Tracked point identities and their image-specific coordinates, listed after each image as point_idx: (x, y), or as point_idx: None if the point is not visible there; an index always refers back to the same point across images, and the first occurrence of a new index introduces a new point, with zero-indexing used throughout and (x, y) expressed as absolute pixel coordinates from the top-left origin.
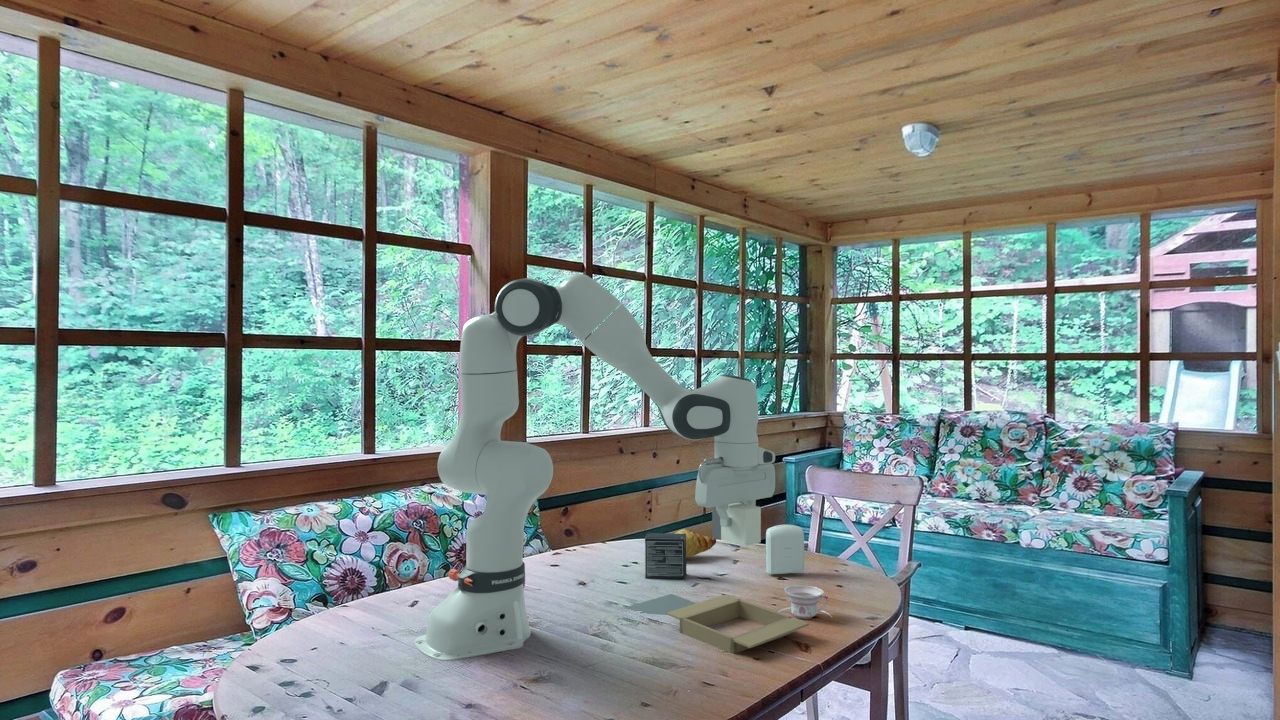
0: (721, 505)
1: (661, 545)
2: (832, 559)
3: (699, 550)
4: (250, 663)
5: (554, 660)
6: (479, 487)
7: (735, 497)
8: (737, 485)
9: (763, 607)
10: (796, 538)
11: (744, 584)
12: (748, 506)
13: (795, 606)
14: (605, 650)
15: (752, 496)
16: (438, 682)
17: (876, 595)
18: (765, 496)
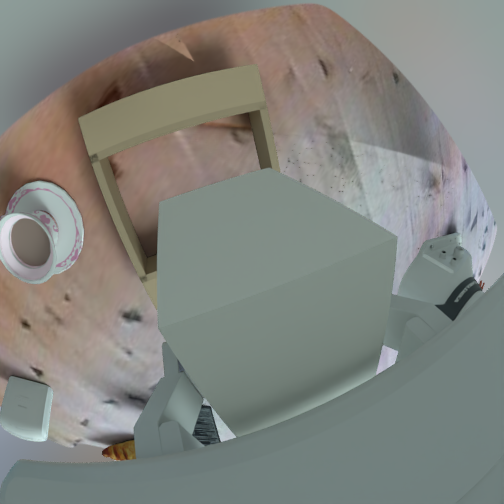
0: (482, 296)
1: (201, 440)
2: None
3: (124, 444)
4: (478, 277)
5: (411, 215)
6: None
7: (433, 386)
8: (465, 477)
9: (116, 227)
10: (9, 414)
11: (89, 372)
12: (268, 366)
13: (50, 231)
14: (370, 218)
15: (200, 477)
16: (462, 214)
17: None
18: (57, 469)
